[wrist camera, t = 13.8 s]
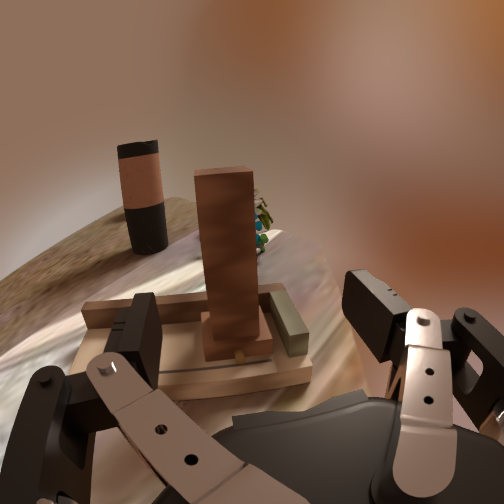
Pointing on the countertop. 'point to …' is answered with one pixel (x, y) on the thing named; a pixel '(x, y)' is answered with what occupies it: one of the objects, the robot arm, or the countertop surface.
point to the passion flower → (262, 211)
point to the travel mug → (143, 196)
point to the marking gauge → (230, 265)
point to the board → (191, 346)
